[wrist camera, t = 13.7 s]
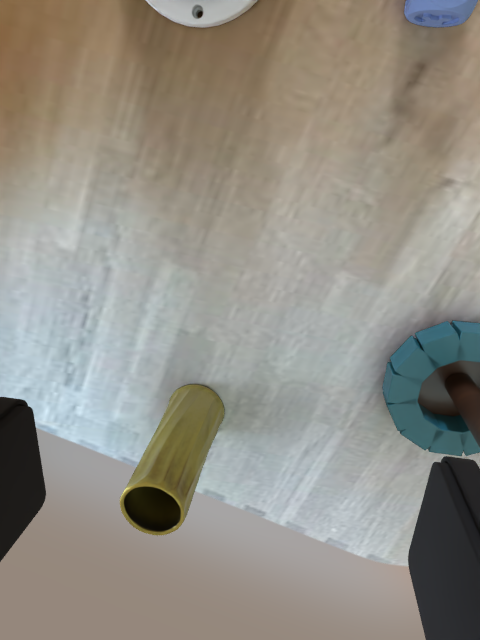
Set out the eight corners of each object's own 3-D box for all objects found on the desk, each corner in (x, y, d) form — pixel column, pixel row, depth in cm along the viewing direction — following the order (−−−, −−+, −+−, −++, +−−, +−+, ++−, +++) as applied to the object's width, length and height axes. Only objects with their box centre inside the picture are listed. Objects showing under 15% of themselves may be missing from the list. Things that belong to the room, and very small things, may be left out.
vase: (236, 407, 45) (205, 511, 32) (203, 441, 47) (162, 552, 34) (190, 372, 44) (139, 465, 31) (159, 409, 47) (99, 509, 33)
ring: (397, 314, 38) (403, 325, 35) (544, 329, 36) (561, 342, 34) (373, 428, 42) (377, 445, 40) (503, 445, 41) (515, 464, 38)
